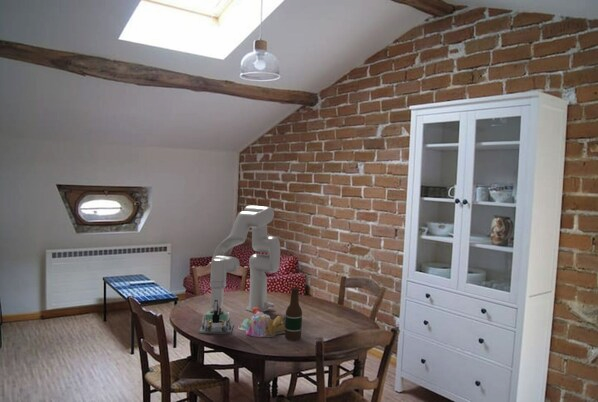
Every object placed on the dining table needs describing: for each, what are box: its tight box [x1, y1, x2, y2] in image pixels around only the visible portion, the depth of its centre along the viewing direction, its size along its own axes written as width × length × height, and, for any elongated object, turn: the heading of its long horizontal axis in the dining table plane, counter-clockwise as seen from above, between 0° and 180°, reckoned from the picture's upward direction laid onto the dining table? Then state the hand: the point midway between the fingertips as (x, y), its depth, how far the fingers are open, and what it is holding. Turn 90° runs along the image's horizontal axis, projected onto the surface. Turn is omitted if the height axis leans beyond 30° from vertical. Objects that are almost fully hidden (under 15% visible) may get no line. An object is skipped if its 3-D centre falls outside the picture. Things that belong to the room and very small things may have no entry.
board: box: [204, 310, 228, 321], centre depth 217 cm, size 10×6×3 cm, turn 92°
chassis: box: [198, 316, 234, 335], centre depth 218 cm, size 15×12×6 cm
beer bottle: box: [284, 286, 303, 342], centre depth 210 cm, size 8×8×24 cm
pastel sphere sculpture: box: [237, 307, 285, 339], centre depth 221 cm, size 25×24×9 cm
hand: (216, 320), depth 218 cm, fingers closed on board, 6 cm apart
